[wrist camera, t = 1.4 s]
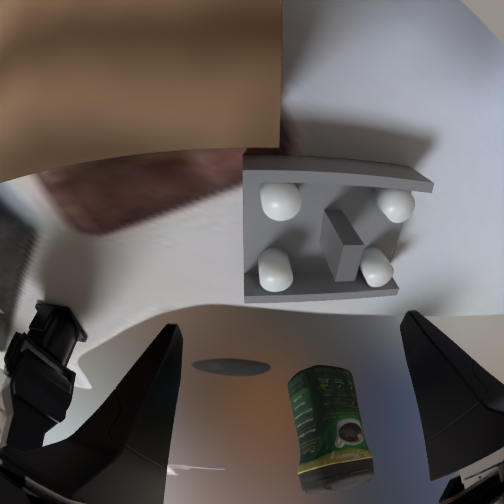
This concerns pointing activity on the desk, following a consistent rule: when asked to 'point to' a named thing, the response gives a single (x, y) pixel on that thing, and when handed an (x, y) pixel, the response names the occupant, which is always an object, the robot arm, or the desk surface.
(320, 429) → the coffee jar
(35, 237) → the desk surface
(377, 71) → the desk surface
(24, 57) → the tan rectangular block
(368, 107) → the desk surface
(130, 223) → the desk surface
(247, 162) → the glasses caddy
